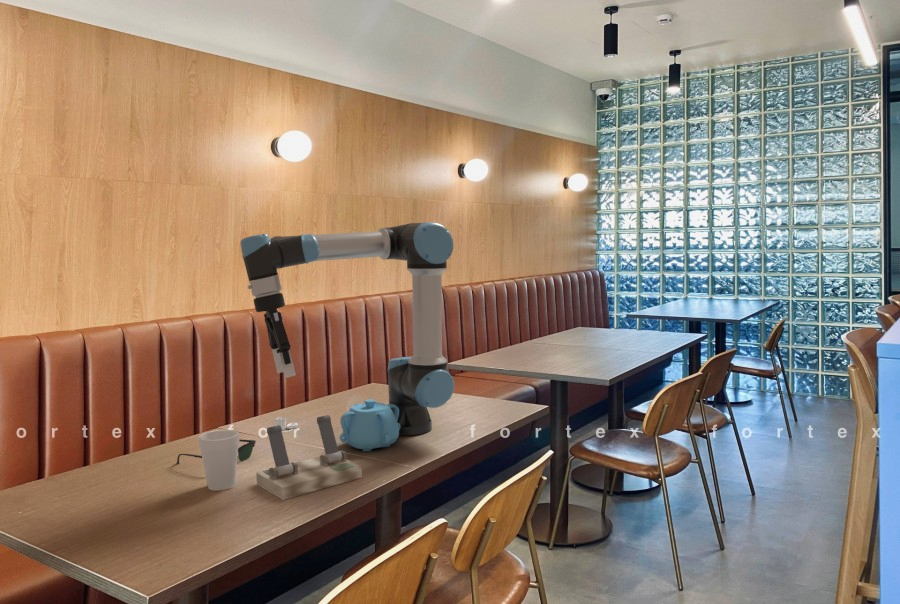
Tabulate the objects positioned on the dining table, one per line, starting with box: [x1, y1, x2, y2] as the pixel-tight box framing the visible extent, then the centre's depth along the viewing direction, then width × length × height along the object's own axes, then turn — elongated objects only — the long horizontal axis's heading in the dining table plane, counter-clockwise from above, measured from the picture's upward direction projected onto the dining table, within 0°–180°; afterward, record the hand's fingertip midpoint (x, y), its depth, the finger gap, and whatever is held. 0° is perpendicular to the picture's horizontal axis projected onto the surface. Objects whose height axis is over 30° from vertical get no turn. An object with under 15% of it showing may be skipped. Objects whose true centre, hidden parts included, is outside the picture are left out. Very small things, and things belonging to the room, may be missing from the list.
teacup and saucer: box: [272, 416, 299, 434], centre depth 223 cm, size 9×8×4 cm
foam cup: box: [198, 429, 240, 492], centre depth 173 cm, size 10×9×13 cm
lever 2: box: [316, 414, 342, 463], centre depth 181 cm, size 4×2×12 cm, turn 130°
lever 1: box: [266, 425, 293, 477], centre depth 172 cm, size 4×2×12 cm, turn 130°
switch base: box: [255, 449, 363, 501], centre depth 176 cm, size 22×14×5 cm, turn 130°
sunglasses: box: [176, 438, 257, 465], centre depth 193 cm, size 16×17×5 cm
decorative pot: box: [339, 398, 401, 452], centre depth 204 cm, size 16×16×14 cm
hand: (286, 374), depth 182 cm, fingers open, 13 cm apart
